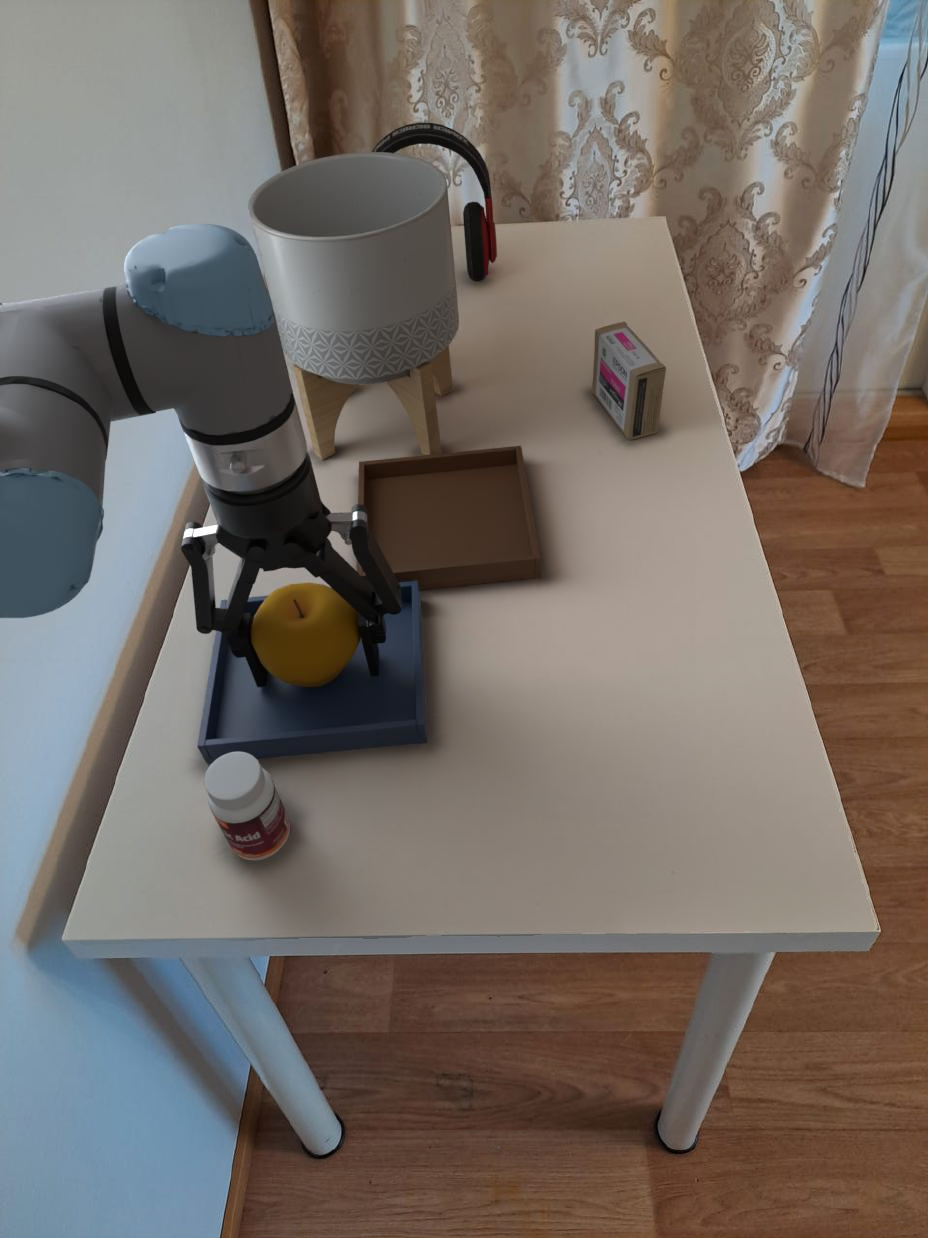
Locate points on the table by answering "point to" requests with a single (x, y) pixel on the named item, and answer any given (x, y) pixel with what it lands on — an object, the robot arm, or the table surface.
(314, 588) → the apple
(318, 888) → the table surface
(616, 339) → the ink box
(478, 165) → the headphones
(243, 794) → the pill bottle
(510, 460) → the medicine tray
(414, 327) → the planter
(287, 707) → the fruit tray
